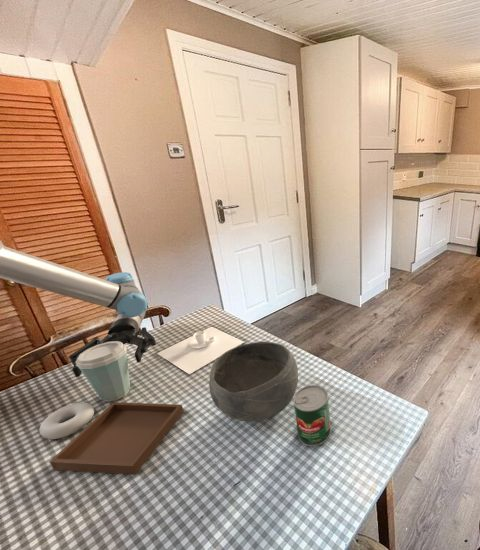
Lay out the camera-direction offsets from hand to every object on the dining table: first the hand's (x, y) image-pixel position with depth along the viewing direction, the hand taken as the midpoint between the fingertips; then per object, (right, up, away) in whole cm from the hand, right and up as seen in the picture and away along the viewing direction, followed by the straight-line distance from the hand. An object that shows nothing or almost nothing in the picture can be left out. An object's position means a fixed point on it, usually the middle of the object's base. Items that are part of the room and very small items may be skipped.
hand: (107, 365), depth 83 cm
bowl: (+43, -11, -2) cm, 44 cm away
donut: (-3, -13, -7) cm, 15 cm away
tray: (+13, -14, -11) cm, 22 cm away
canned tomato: (+59, -13, -10) cm, 61 cm away
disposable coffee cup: (0, -9, +3) cm, 9 cm away
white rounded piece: (+14, -1, +23) cm, 26 cm away
